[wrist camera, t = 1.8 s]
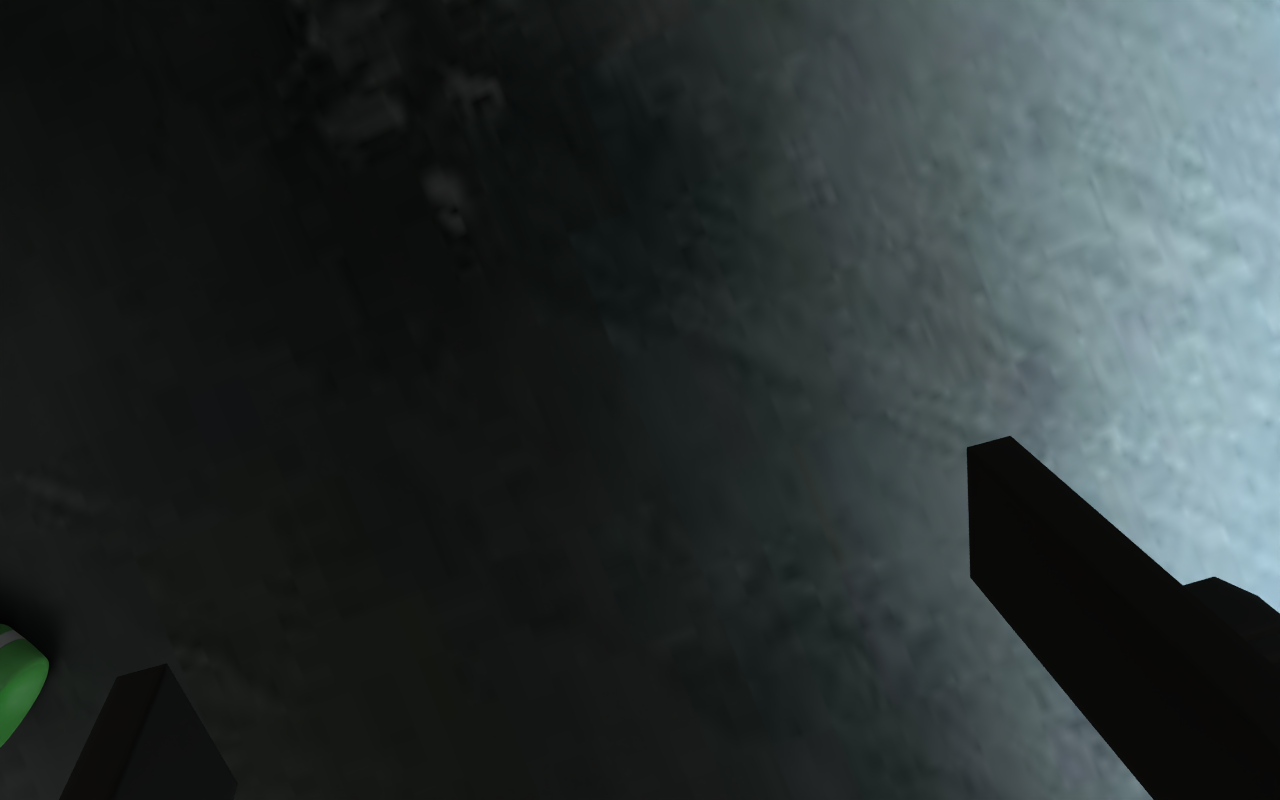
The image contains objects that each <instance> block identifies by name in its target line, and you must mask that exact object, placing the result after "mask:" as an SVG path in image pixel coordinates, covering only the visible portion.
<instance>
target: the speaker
mask: <svg viewBox="0 0 1280 800" xmlns="http://www.w3.org/2000/svg"><path fill="white" fill-rule="evenodd" d="M48 669H49V662H48V660H47V658H46V657H45V656H44V655H43V654H42V653H41V652H40V651H39V650H38V649H37V648H36V647H34V646H33V645H32V644H31V643H30V642H29V641H27V640H26V639H25V638H24V637H23V636H21V635H20V634H19V633H17V632H16V631H14V630H13V629H12V628H11V627H9V626H7V625H4V624H0V747H1V746H2V745H3V744H4V743H5V742H6V741H7V739H8V738H9V737H10V736H11V734H12V733H13V732H14V731H15V729H16V728H17V727H18V725H19V724H20V723H21V721H22V720H23V718H24V717H25V715H26V714H27V713H28V711H29V710H30V708H31V706H32V705H33V703H34V702H35V700H36V698H37V696H38V695H39V693H40V691H41V689H42V687H43V685H44V682H45V679H46V677H47V674H48Z"/></svg>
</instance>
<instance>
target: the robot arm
mask: <svg viewBox="0 0 1280 800" xmlns="http://www.w3.org/2000/svg"><path fill="white" fill-rule="evenodd" d="M967 473H968V510H969V546H970V578H971V579H972V580H973V581H974V582H975V584H976V585H977V586H978V587H979V588H980V590H981V591H982V592H983V593H984V595H985V596H986V597H987V598H988V599H989V601H990V602H991V603H992V604H993V605H994V607H995V608H996V609H997V610H998V612H999V613H1000V614H1001V615H1002V616H1003V618H1004V619H1005V620H1006V621H1007V622H1008V624H1009V625H1010V626H1011V627H1012V629H1013V630H1014V631H1015V632H1016V633H1017V635H1018V636H1019V637H1020V638H1021V639H1022V641H1023V642H1024V643H1025V644H1026V645H1027V647H1028V648H1029V649H1030V650H1031V652H1032V653H1033V654H1034V655H1035V656H1036V658H1037V659H1038V660H1039V661H1040V662H1041V664H1042V665H1043V666H1044V667H1045V669H1046V670H1047V671H1048V672H1049V673H1050V675H1051V676H1052V677H1053V678H1054V679H1055V681H1056V682H1057V683H1058V684H1059V685H1060V687H1061V688H1062V689H1063V690H1064V692H1065V693H1066V694H1067V695H1068V696H1069V698H1070V699H1071V700H1072V701H1073V702H1074V704H1075V705H1076V706H1077V707H1078V709H1079V710H1080V711H1081V712H1082V713H1083V715H1084V716H1085V717H1086V718H1087V719H1088V721H1089V722H1090V723H1091V724H1092V726H1093V727H1094V728H1095V729H1096V730H1097V732H1098V733H1099V734H1100V735H1101V736H1102V738H1103V739H1104V740H1105V741H1106V742H1107V744H1108V745H1109V746H1110V747H1111V749H1112V750H1113V751H1114V752H1115V753H1116V755H1117V756H1118V757H1119V758H1120V759H1121V761H1122V762H1123V763H1124V764H1125V766H1126V767H1127V768H1128V769H1129V770H1130V772H1131V773H1132V774H1133V775H1134V776H1135V778H1136V779H1137V780H1138V781H1139V782H1140V784H1141V785H1142V786H1143V787H1144V789H1145V790H1146V791H1147V792H1148V793H1149V795H1150V796H1151V797H1152V798H1153V799H1154V800H1280V613H1278V612H1277V611H1276V610H1275V609H1273V608H1272V607H1271V606H1270V605H1268V604H1267V603H1266V602H1265V601H1263V600H1262V599H1261V598H1260V597H1258V596H1257V595H1254V594H1252V593H1250V592H1248V591H1246V590H1243V589H1241V588H1239V587H1237V586H1234V585H1232V584H1230V583H1228V582H1226V581H1223V580H1221V579H1219V578H1217V577H1211V578H1208V579H1204V580H1201V581H1197V582H1194V583H1190V584H1187V585H1182V584H1180V583H1179V582H1178V581H1177V580H1176V579H1175V578H1174V577H1172V576H1171V575H1170V574H1169V573H1168V572H1167V571H1165V570H1164V569H1163V568H1162V567H1161V566H1160V565H1159V564H1157V563H1156V562H1155V561H1154V560H1153V559H1152V558H1151V557H1149V556H1148V555H1147V554H1146V553H1145V552H1144V551H1142V550H1141V549H1140V548H1139V547H1138V546H1137V545H1136V544H1134V543H1133V542H1132V541H1131V540H1130V539H1129V538H1127V537H1126V536H1125V535H1124V534H1123V533H1122V532H1121V531H1119V530H1118V529H1117V528H1116V527H1115V526H1114V525H1113V524H1111V523H1110V522H1109V521H1108V520H1107V519H1106V518H1104V517H1103V516H1102V515H1101V514H1100V513H1099V512H1098V511H1096V510H1095V509H1094V508H1093V507H1092V506H1091V505H1089V504H1088V503H1087V502H1086V501H1085V500H1084V499H1083V498H1081V497H1080V496H1079V495H1078V494H1077V493H1076V492H1075V491H1073V490H1072V489H1071V488H1070V487H1069V486H1068V485H1066V484H1065V483H1064V482H1063V481H1062V480H1061V479H1060V478H1058V477H1057V476H1056V475H1055V474H1054V473H1053V472H1052V471H1050V470H1049V469H1048V468H1047V467H1046V466H1045V465H1043V464H1042V463H1041V462H1040V461H1039V460H1038V459H1037V458H1035V457H1034V456H1033V455H1032V454H1031V453H1030V452H1028V451H1027V450H1026V449H1025V448H1024V447H1023V446H1022V445H1020V444H1019V443H1018V442H1017V441H1016V440H1015V439H1014V438H1012V437H1011V436H1008V437H1004V438H1000V439H996V440H993V441H989V442H985V443H982V444H978V445H974V446H971V447H967ZM237 784H238V783H237V782H236V780H235V778H234V776H233V775H232V773H231V771H230V770H229V768H228V766H227V765H226V763H225V761H224V759H223V758H222V756H221V754H220V753H219V751H218V749H217V748H216V746H215V744H214V742H213V741H212V739H211V737H210V736H209V734H208V732H207V731H206V729H205V727H204V726H203V724H202V722H201V720H200V719H199V717H198V715H197V714H196V712H195V710H194V709H193V707H192V705H191V703H190V702H189V700H188V698H187V697H186V695H185V693H184V692H183V690H182V688H181V686H180V685H179V683H178V681H177V680H176V678H175V676H174V675H173V673H172V671H171V669H170V668H169V666H168V664H163V665H160V666H156V667H152V668H148V669H145V670H141V671H137V672H134V673H130V674H126V675H123V676H119V677H117V678H116V680H115V682H114V684H113V686H112V689H111V691H110V693H109V695H108V697H107V699H106V701H105V703H104V706H103V708H102V710H101V712H100V714H99V716H98V718H97V720H96V723H95V725H94V727H93V729H92V731H91V733H90V735H89V737H88V740H87V742H86V744H85V746H84V748H83V750H82V752H81V754H80V756H79V759H78V761H77V763H76V765H75V767H74V769H73V771H72V773H71V776H70V778H69V780H68V782H67V784H66V786H65V788H64V790H63V793H62V795H61V797H60V799H59V800H233V799H234V795H235V791H236V788H237Z"/></svg>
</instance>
